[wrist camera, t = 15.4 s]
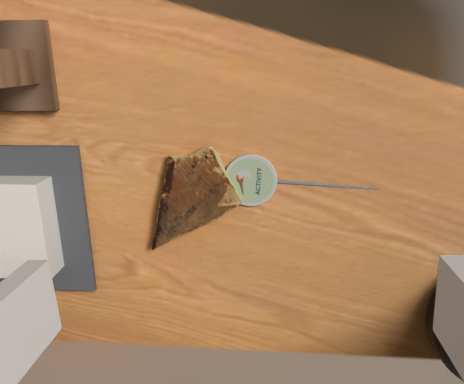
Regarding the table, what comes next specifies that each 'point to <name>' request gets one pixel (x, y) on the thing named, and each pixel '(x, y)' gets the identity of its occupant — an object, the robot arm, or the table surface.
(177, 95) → the table surface
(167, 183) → the shard
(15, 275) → the robot arm
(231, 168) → the sign
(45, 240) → the card box
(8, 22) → the walnut stand
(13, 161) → the rubber mat
